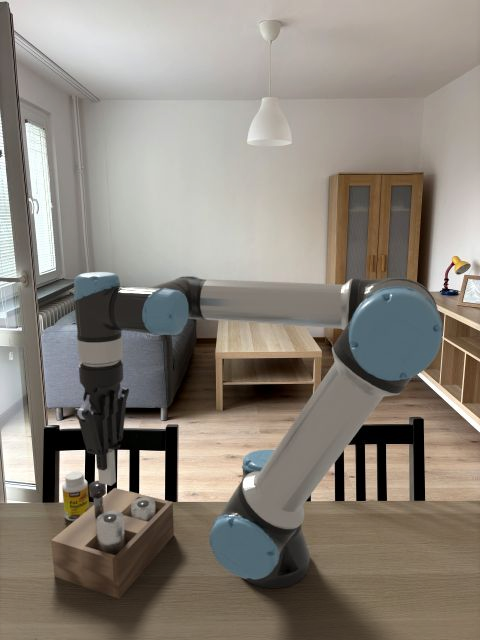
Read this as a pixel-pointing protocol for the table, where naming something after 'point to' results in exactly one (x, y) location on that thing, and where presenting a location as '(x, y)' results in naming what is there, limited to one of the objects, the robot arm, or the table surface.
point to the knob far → (143, 509)
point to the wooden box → (103, 568)
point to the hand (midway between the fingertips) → (107, 482)
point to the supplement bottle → (75, 495)
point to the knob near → (111, 532)
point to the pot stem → (97, 496)
